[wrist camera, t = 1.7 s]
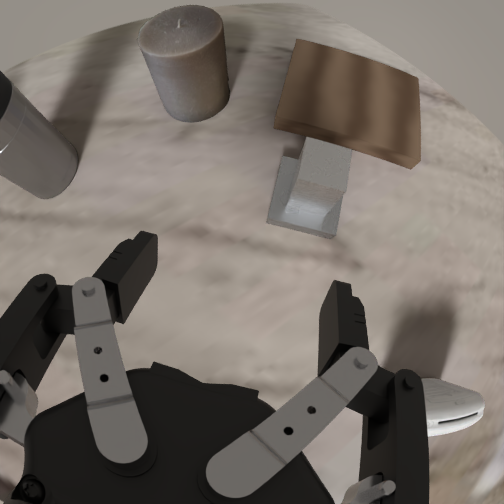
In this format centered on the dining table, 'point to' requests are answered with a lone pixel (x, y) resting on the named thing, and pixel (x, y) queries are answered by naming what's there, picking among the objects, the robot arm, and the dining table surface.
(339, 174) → the block
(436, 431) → the photo printer
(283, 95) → the walnut plinth
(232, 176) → the dining table surface
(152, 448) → the robot arm
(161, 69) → the pillar candle
